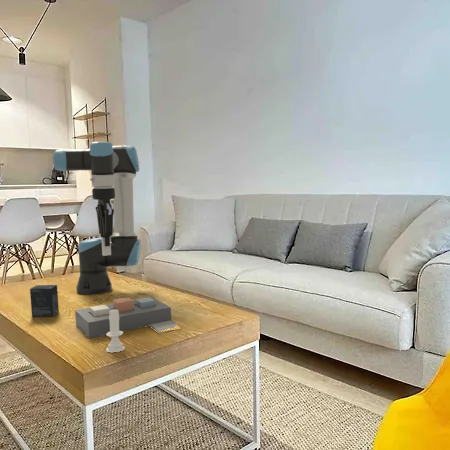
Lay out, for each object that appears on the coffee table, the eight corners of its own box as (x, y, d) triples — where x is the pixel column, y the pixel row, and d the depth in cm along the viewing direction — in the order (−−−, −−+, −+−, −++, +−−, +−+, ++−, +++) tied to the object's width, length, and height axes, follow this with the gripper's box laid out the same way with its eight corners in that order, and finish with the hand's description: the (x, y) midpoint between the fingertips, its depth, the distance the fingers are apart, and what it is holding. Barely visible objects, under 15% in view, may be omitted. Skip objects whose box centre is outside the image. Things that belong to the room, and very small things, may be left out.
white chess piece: (102, 352, 124) (100, 311, 122) (110, 345, 129) (108, 305, 128) (120, 353, 123) (118, 311, 121) (127, 346, 128) (126, 306, 127)
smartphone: (158, 332, 138) (143, 319, 151) (158, 335, 138) (143, 321, 151) (182, 327, 142) (166, 315, 155) (182, 330, 142) (166, 317, 155)
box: (59, 312, 163) (57, 284, 162) (53, 316, 158) (51, 288, 157) (38, 312, 163) (36, 284, 162) (31, 317, 158) (29, 288, 157)
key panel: (75, 324, 148) (75, 310, 148) (152, 310, 163) (152, 297, 163) (88, 338, 135) (88, 322, 135) (171, 321, 150) (170, 307, 149)
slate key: (136, 310, 154) (135, 299, 154) (149, 308, 157) (149, 297, 156) (141, 314, 150) (141, 302, 149) (155, 311, 152) (154, 300, 152)
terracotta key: (113, 311, 150) (113, 299, 149) (127, 308, 152) (127, 297, 152) (118, 314, 145) (118, 302, 145) (133, 312, 148) (132, 300, 148)
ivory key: (90, 319, 145) (89, 307, 145) (105, 316, 148) (104, 304, 148) (94, 322, 141) (94, 310, 141) (110, 320, 144) (109, 308, 144)
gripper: (87, 187, 154) (90, 253, 157) (98, 188, 143) (101, 259, 146) (108, 186, 158) (111, 251, 161) (120, 187, 147) (123, 256, 150)
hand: (106, 255), depth 154 cm, fingers closed
